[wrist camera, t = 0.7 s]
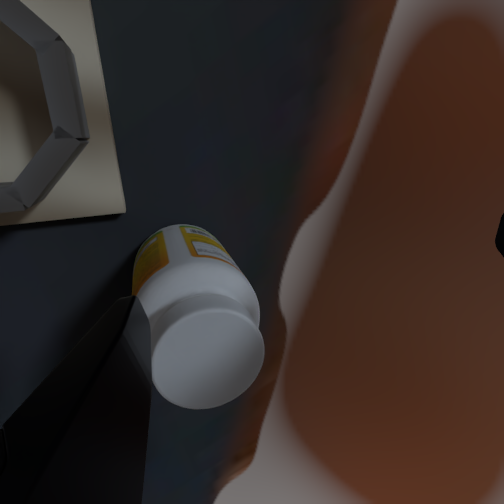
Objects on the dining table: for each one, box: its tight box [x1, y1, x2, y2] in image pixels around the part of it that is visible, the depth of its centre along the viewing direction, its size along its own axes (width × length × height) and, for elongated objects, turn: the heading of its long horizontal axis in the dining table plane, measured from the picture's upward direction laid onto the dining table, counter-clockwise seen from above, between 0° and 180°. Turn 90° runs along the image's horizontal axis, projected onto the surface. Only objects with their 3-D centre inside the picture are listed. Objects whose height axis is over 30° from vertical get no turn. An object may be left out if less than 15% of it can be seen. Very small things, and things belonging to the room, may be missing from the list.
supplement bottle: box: [132, 224, 264, 409], centre depth 16 cm, size 5×5×10 cm
